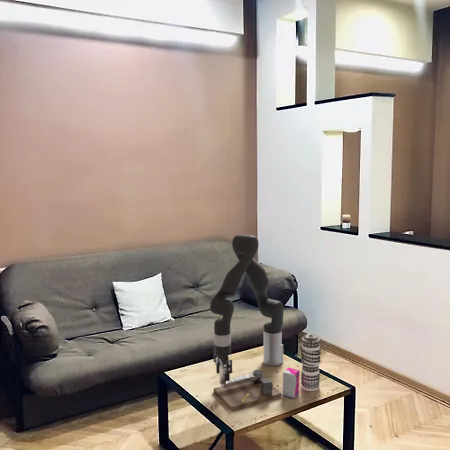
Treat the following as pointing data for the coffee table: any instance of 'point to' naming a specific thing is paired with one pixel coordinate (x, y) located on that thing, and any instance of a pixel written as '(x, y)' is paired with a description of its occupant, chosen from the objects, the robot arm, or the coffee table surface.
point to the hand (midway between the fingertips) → (222, 376)
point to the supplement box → (291, 383)
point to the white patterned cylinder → (310, 362)
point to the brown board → (247, 394)
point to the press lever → (240, 378)
